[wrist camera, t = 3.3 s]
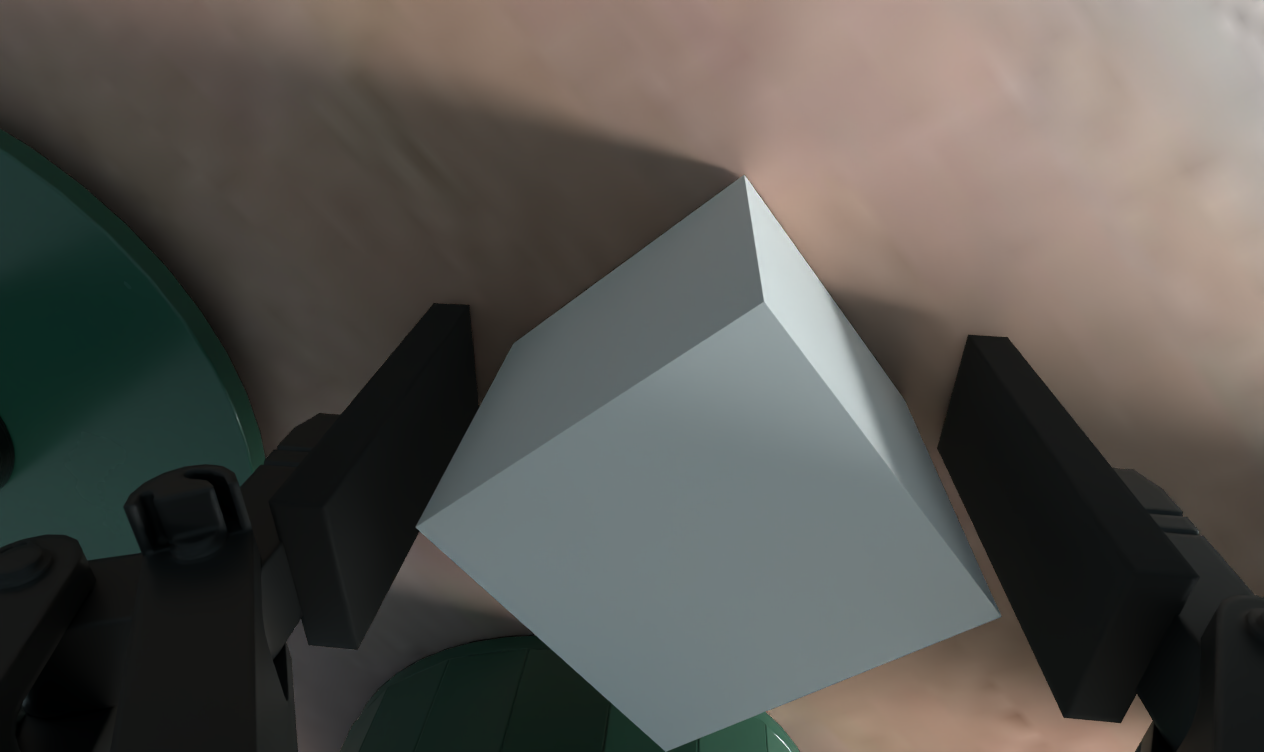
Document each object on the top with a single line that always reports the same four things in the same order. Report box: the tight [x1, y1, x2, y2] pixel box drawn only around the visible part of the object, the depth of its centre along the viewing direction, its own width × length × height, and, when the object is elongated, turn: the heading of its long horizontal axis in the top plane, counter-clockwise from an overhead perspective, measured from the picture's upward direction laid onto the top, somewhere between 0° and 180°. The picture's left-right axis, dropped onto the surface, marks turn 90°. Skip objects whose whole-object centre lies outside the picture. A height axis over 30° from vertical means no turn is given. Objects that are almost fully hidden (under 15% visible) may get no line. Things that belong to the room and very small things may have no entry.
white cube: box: [416, 175, 1002, 752], centre depth 13 cm, size 6×6×6 cm
